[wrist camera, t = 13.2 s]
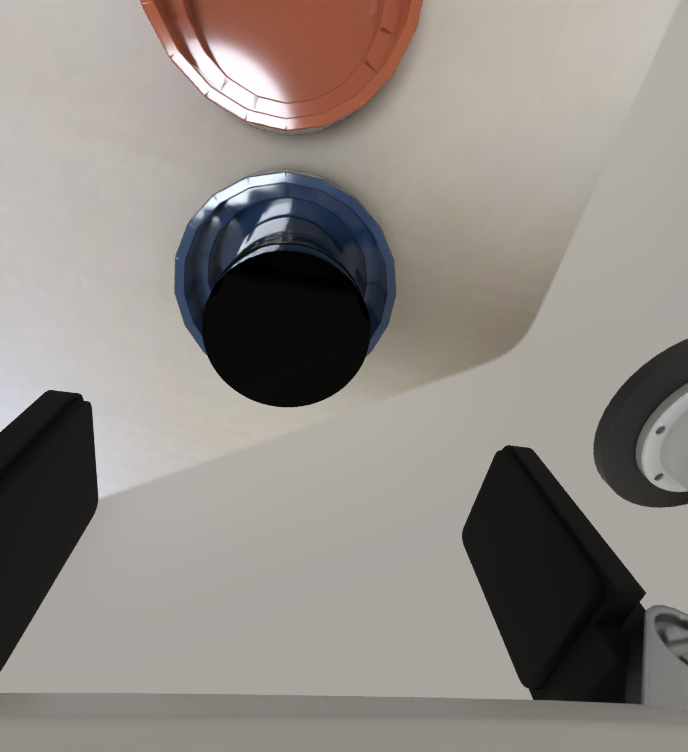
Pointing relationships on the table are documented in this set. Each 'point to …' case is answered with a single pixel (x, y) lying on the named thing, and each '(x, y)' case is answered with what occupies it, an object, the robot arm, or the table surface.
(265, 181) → the slate-blue bowl
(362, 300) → the supplement container
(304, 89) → the terracotta bowl
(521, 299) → the table surface
